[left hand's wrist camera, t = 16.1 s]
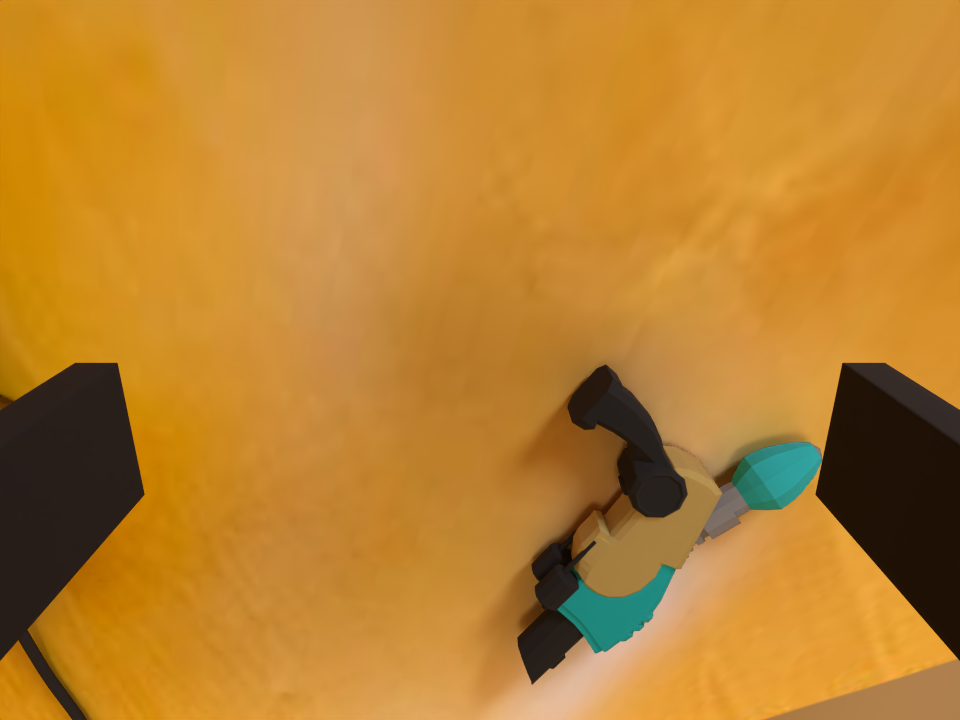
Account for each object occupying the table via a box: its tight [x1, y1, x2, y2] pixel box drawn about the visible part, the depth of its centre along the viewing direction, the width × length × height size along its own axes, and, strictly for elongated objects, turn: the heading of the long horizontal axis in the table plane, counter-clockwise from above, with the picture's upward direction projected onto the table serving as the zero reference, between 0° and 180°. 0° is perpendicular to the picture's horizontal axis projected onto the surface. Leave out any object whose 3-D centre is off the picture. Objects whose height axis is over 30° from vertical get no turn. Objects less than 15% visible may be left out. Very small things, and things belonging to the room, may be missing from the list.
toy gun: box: [518, 365, 822, 684], centre depth 44 cm, size 4×26×15 cm
